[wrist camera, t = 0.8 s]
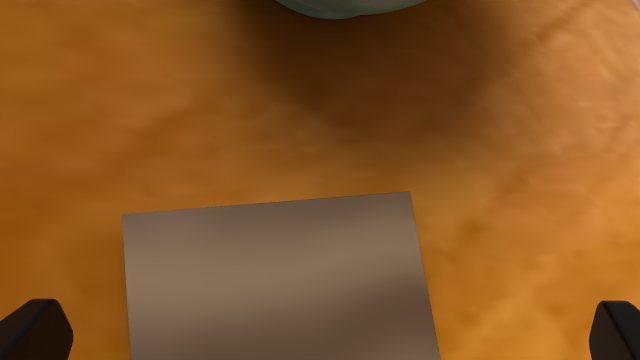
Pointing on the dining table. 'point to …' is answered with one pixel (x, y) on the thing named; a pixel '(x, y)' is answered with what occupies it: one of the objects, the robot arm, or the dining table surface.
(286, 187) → the dining table surface
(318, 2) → the flower pot
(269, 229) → the walnut block
